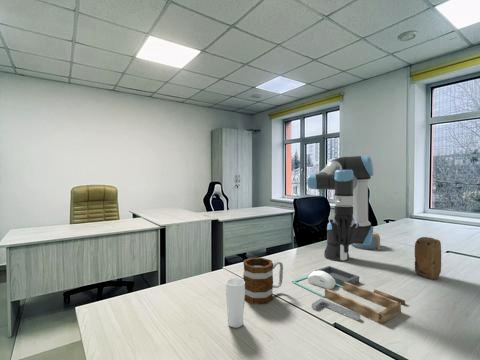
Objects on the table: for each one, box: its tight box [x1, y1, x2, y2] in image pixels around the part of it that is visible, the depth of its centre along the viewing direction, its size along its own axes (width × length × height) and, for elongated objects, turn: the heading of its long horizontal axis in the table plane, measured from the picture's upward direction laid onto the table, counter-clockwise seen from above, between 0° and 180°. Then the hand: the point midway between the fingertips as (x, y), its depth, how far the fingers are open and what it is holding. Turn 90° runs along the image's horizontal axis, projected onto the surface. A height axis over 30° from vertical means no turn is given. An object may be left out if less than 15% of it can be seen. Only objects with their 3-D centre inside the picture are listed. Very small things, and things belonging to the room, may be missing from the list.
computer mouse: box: [307, 270, 336, 290], centre depth 122 cm, size 6×13×6 cm, turn 49°
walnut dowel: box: [372, 289, 406, 306], centre depth 107 cm, size 12×2×2 cm
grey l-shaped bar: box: [311, 298, 361, 321], centre depth 96 cm, size 16×7×2 cm, turn 41°
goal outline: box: [291, 274, 343, 299], centre depth 120 cm, size 19×16×1 cm
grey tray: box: [314, 265, 360, 286], centre depth 128 cm, size 17×11×3 cm, turn 34°
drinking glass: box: [225, 277, 246, 329], centre depth 88 cm, size 7×7×15 cm
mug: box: [242, 257, 284, 305], centre depth 110 cm, size 20×14×15 cm
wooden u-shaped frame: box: [324, 282, 402, 325], centre depth 102 cm, size 24×14×4 cm, turn 34°
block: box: [414, 236, 442, 280], centre depth 132 cm, size 11×8×20 cm
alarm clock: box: [351, 230, 381, 251], centre depth 187 cm, size 19×20×12 cm
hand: (343, 259), depth 109 cm, fingers closed
